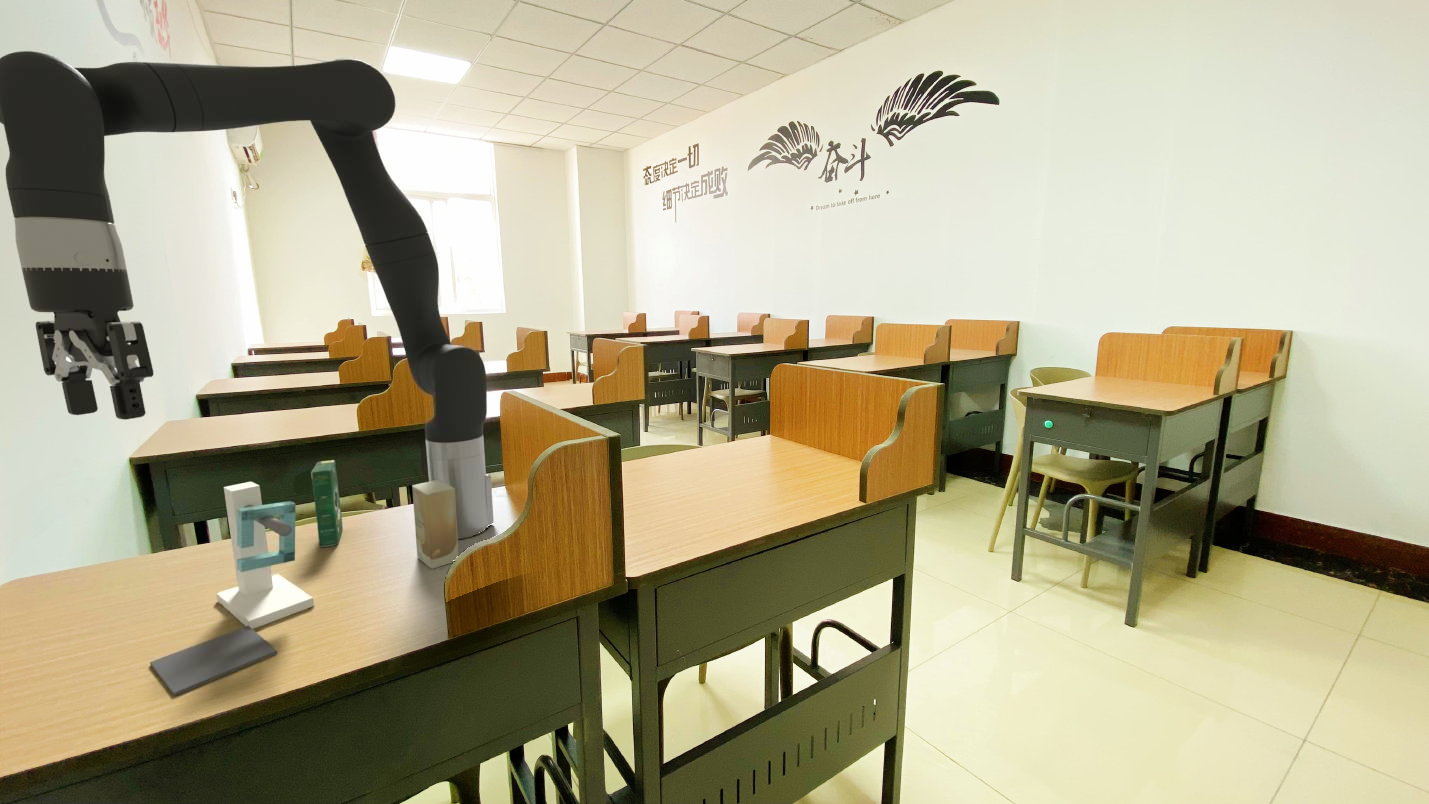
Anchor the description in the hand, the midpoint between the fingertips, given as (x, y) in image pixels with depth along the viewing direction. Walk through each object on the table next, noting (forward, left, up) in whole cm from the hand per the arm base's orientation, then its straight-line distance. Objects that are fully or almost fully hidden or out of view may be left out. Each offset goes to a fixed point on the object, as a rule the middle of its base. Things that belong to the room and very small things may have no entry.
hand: (107, 415), depth 64 cm
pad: (-4, +10, -28) cm, 30 cm away
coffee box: (-27, -17, -28) cm, 42 cm away
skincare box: (-33, +6, -28) cm, 43 cm away
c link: (-11, +5, -20) cm, 24 cm away
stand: (-12, +2, -28) cm, 30 cm away
